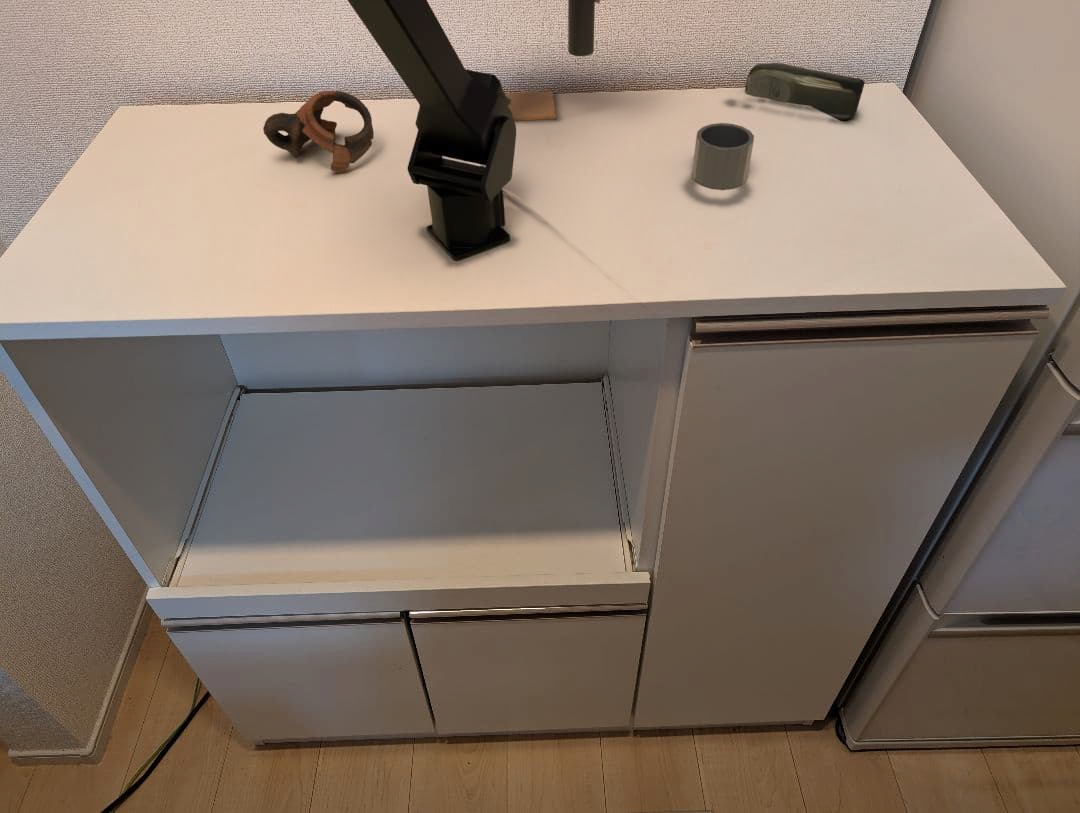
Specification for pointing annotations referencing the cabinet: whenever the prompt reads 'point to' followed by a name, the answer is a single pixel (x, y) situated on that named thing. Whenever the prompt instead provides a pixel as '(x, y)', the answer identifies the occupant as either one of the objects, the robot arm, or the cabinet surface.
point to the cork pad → (532, 105)
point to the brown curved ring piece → (321, 129)
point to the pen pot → (722, 156)
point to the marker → (581, 27)
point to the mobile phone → (806, 88)
